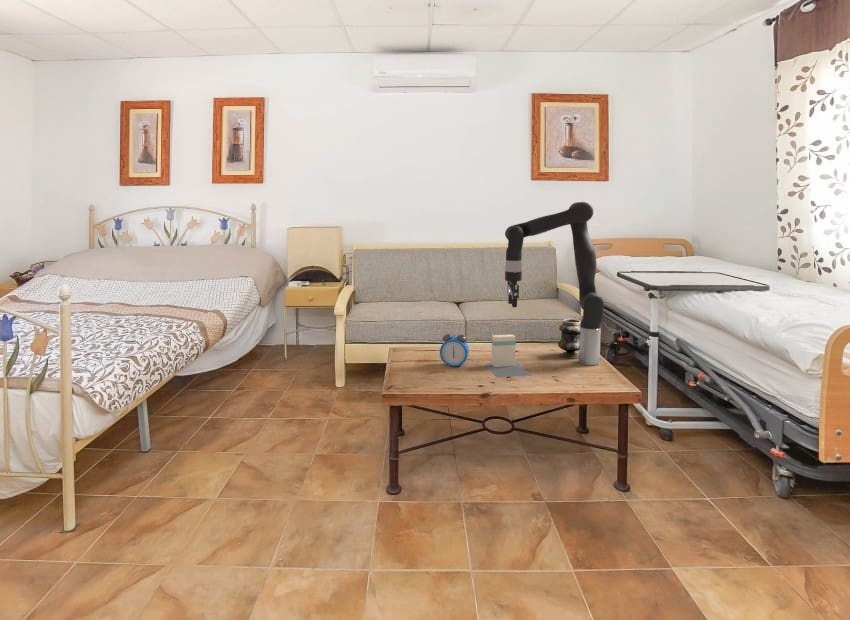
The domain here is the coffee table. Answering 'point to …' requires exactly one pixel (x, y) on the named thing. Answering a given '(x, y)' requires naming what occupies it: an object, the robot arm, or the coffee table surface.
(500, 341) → the box
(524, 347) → the coffee table surface
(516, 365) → the mat
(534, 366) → the coffee table surface
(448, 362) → the alarm clock
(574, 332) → the apothecary jar
